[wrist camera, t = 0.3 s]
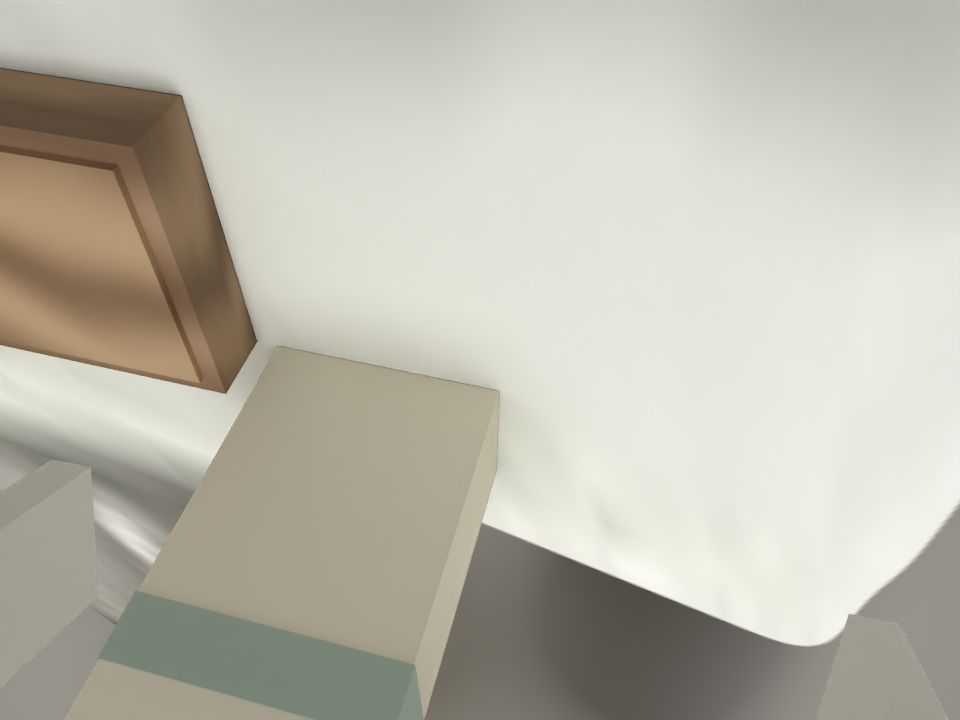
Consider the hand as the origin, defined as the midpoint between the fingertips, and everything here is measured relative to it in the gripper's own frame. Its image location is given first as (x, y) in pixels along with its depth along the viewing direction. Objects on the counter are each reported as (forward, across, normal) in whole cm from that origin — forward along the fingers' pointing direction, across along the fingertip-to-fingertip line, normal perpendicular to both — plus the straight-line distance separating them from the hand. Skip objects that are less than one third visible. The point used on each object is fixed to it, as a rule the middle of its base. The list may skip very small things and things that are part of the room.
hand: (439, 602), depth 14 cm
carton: (+21, -6, -6) cm, 23 cm away
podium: (+17, -19, +2) cm, 25 cm away
